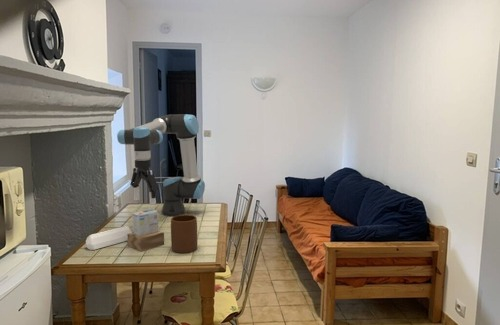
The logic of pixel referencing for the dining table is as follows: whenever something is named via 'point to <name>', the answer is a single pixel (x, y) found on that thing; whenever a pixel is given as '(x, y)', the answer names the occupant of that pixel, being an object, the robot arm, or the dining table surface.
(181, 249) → the mug
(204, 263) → the dining table surface
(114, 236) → the crystal
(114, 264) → the dining table surface
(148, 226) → the light bulb box
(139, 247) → the walnut block
